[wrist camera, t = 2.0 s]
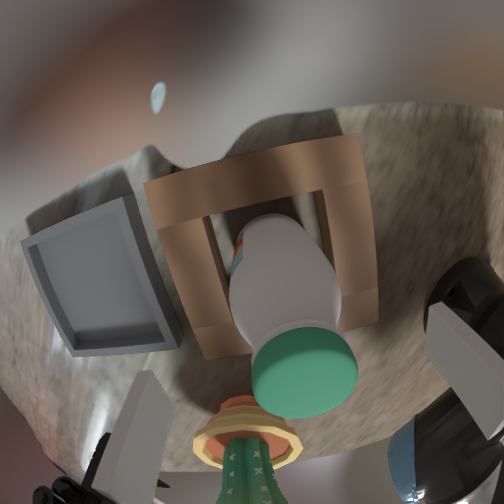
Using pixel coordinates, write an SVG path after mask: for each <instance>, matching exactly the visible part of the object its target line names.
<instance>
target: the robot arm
mask: <svg viewBox="0 0 504 504" xmlns="http://www.w3.org/2000/svg"><path fill="white" fill-rule="evenodd" d="M424 330H425V334H426V336H425V342H424V348H423V351H424V352H425V353H426V354H427V356H428V357H429V358H430V359H431V361H432V362H433V363H434V365H435V366H436V367H437V369H438V370H439V371H440V372H441V374H442V375H443V376H444V378H445V379H446V380H447V382H448V383H449V385H450V386H451V387H449V388H448V389H447V390H446V391H445V392H444V393H443V394H442V395H441V396H439V397H438V398H437V399H436V400H435V401H434V402H432V403H431V404H430V405H429V406H428V407H426V408H425V409H424V410H423V411H421V412H420V413H419V414H416V415H414V417H413V418H412V419H411V420H410V421H409V422H408V423H407V424H405V425H404V426H403V427H401V428H400V429H399V430H397V431H396V432H395V433H394V434H393V436H392V437H391V439H390V441H389V444H388V452H387V453H388V465H389V470H390V474H391V478H392V481H393V484H394V486H395V488H396V491H397V493H398V494H399V496H400V497H401V499H402V500H403V501H406V503H407V504H414V503H419V502H420V501H421V500H424V501H425V503H426V504H504V446H503V444H502V443H501V441H502V440H503V439H504V283H503V282H502V280H501V279H500V278H499V276H498V275H497V274H496V272H495V271H494V269H493V268H492V266H490V265H489V264H488V263H486V262H485V261H483V260H481V259H479V258H476V257H470V258H466V259H463V260H461V261H460V262H458V263H457V264H455V265H454V266H453V267H452V268H451V269H450V270H449V271H448V272H447V273H446V274H445V275H444V276H443V278H442V279H441V280H440V282H439V283H438V285H437V286H436V288H435V290H434V292H433V294H432V296H431V298H430V300H429V303H428V305H427V309H426V312H425V318H424ZM174 408H175V406H174V405H173V403H172V402H171V400H170V399H169V397H168V396H167V394H166V392H165V391H164V389H163V388H162V386H161V384H160V383H159V381H158V380H157V378H156V376H155V375H154V373H153V371H152V370H145V371H138V373H137V375H136V377H135V380H134V382H133V384H132V386H131V388H130V391H129V393H128V395H127V398H126V400H125V402H124V404H123V407H122V409H121V412H120V414H119V416H118V419H117V421H116V423H115V426H114V428H113V431H112V433H107V432H106V433H105V434H104V435H103V436H102V438H101V439H100V440H99V442H98V444H97V446H96V449H95V450H96V451H94V454H93V456H92V457H93V459H91V461H90V464H89V466H88V469H87V471H86V474H85V477H84V479H83V482H82V484H81V486H80V485H79V484H78V483H76V482H75V481H74V480H72V479H71V478H70V477H66V476H62V477H59V478H57V479H56V480H55V481H54V483H53V484H52V487H51V490H50V489H49V488H48V487H46V486H40V487H38V488H37V489H35V491H34V493H33V504H153V499H154V494H155V489H156V485H157V480H158V475H159V471H160V466H161V462H162V458H163V453H164V449H165V445H166V441H167V436H168V432H169V428H170V424H171V420H172V416H173V412H174Z"/></svg>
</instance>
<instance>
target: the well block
mask: <svg viewBox="0 0 504 504" xmlns="http://www.w3.org/2000/svg"><path fill="white" fill-rule="evenodd" d="M143 185H144V188H145V192H146V196H147V199H148V203H149V206H150V210H151V213H152V217H153V220H154V223H155V227H156V230H157V233H158V236H159V239H160V242H161V246H162V249H163V252H164V255H165V258H166V261H167V263H168V266H169V269H170V272H171V275H172V278H173V281H174V283H175V286H176V289H177V291H178V294H179V297H180V299H181V302H182V305H183V307H184V310H185V312H186V315H187V318H188V320H189V323H190V325H191V327H192V330H193V332H194V335H195V337H196V340H197V342H198V344H199V347H200V349H201V351H202V354H203V356H204V358H205V360H213V359H220V358H227V357H233V356H239V355H245V354H250V353H253V351H254V349H253V347H252V346H251V345H250V344H249V343H248V342H247V341H246V340H245V339H244V337H243V336H242V335H241V333H240V332H239V330H238V328H237V326H236V324H235V322H234V320H233V317H232V314H231V309H230V302H229V286H230V285H229V281H228V278H227V275H226V271H225V268H224V264H223V261H222V257H221V254H220V250H219V247H218V243H217V240H216V236H215V233H214V229H213V226H212V222H211V218H210V215H212V214H216V213H220V212H224V211H228V210H232V209H236V208H240V207H245V206H249V205H253V204H257V203H262V202H266V201H270V200H275V199H279V198H284V197H288V196H293V195H298V194H302V193H307V192H312V191H314V196H315V201H316V206H317V211H318V217H319V222H320V228H321V234H322V240H323V246H324V253H325V256H326V258H327V259H328V261H329V262H330V264H331V265H332V267H333V269H334V271H335V273H336V276H337V279H338V281H339V285H340V290H341V312H340V317H339V321H338V324H337V328H338V329H339V330H340V331H341V332H345V331H349V330H352V329H356V328H359V327H363V326H366V325H369V324H372V323H375V322H379V309H378V275H377V258H376V246H375V235H374V225H373V217H372V209H371V201H370V194H369V188H368V182H367V176H366V170H365V165H364V159H363V154H362V149H361V145H360V140H359V135H358V133H357V134H349V135H341V136H334V137H328V138H321V139H315V140H309V141H303V142H298V143H292V144H287V145H282V146H277V147H272V148H267V149H263V150H258V151H254V152H249V153H245V154H241V155H237V156H233V157H229V158H225V159H221V160H217V161H214V162H210V163H206V164H203V165H199V166H196V167H192V168H189V169H186V170H182V171H179V172H176V173H173V174H169V175H166V176H163V177H160V178H157V179H154V180H151V181H148V182H145V183H143Z"/></svg>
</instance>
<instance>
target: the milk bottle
mask: <svg viewBox="0 0 504 504" xmlns="http://www.w3.org/2000/svg"><path fill="white" fill-rule="evenodd" d="M229 302H230V309H231V314H232V317H233V320H234V322H235V324H236V326H237V328H238V330H239V332H240V333H241V335H242V336H243V337H244V339H245V340H246V341H247V342H248V343H249V344H250V345H251V346H252V347H253V349H254V351H253V354H252V359H251V364H252V376H251V381H252V391H253V394H254V397H255V399H256V401H257V403H258V404H259V405H260V406H261V407H262V408H263V409H264V410H266V411H267V412H269V413H271V414H273V415H276V416H279V417H284V418H294V419H296V418H308V417H313V416H316V415H320V414H322V413H325V412H327V411H329V410H331V409H333V408H334V407H336V406H338V405H339V404H340V403H341V402H343V401H344V400H345V399H346V398H347V397H348V396H349V395H350V393H351V392H352V391H353V389H354V387H355V385H356V383H357V379H358V366H357V362H356V360H355V357H354V355H353V352H352V351H351V349H350V347H349V345H348V344H347V342H346V339H345V337H344V335H343V334H342V332H341V331H340V330H339V329H338V328H337V324H338V321H339V317H340V312H341V290H340V285H339V281H338V279H337V276H336V273H335V271H334V269H333V267H332V265H331V264H330V262H329V261H328V259H327V258H326V256H325V255H324V253H323V252H322V251H321V249H320V248H319V247H318V246H317V244H316V243H315V242H314V241H313V239H312V238H311V237H310V236H309V234H308V233H307V232H306V231H305V230H304V229H303V227H302V226H301V225H300V224H299V223H298V222H296V221H295V220H294V219H292V218H291V217H289V216H286V215H283V214H278V213H268V214H263V215H260V216H257V217H255V218H254V219H252V220H251V221H249V222H248V223H247V224H246V225H245V226H244V227H243V229H242V230H241V232H240V233H239V236H238V238H237V241H236V246H235V251H234V257H233V263H232V269H231V276H230V286H229Z"/></svg>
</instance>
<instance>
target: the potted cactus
mask: <svg viewBox="0 0 504 504" xmlns="http://www.w3.org/2000/svg"><path fill="white" fill-rule="evenodd" d="M302 449H303V447H302V445H301V443H300V440H299V438H298V436H297V434H296V432H295V430H294V428H292V427H289V426H288V425H287V424H286V422H285V421H284V419H283V417H279V416H276V415H273V414H271V413H269V412H267V411H266V410H264V409H263V408H262V407H261V406H260V405H259V404H258V403H257V401H256V399H255V397H254V396H250V395H242V396H237V397H232V398H229V399H228V400H227V401H225V402H224V403H222V404H221V406H220V411H219V413H217V414H216V415H214V416H213V417H212V418H210V420H209V422H208V423H207V425H206V426H205V427H204V428H202V429H200V430H199V431H197V434H196V436H195V438H194V444H193V452H194V453H195V454H196V455H197V456H198V457H199V458H200V459H202V460H203V461H204V462H205V463H207V464H210V465H212V466H215V467H218V468H221V469H223V477H222V491H221V493H220V495H219V497H218V500H217V502H216V504H288V502H287V500H286V499H285V497H284V496H283V494H282V492H281V491H280V489H279V487H278V486H277V482H276V478H275V474H274V470H273V469H277V468H279V467H281V466H283V465H285V464H288V463H290V462H292V461H294V460H295V459H296V458H297V456H298V455H299V454H300V452H301V451H302Z"/></svg>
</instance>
